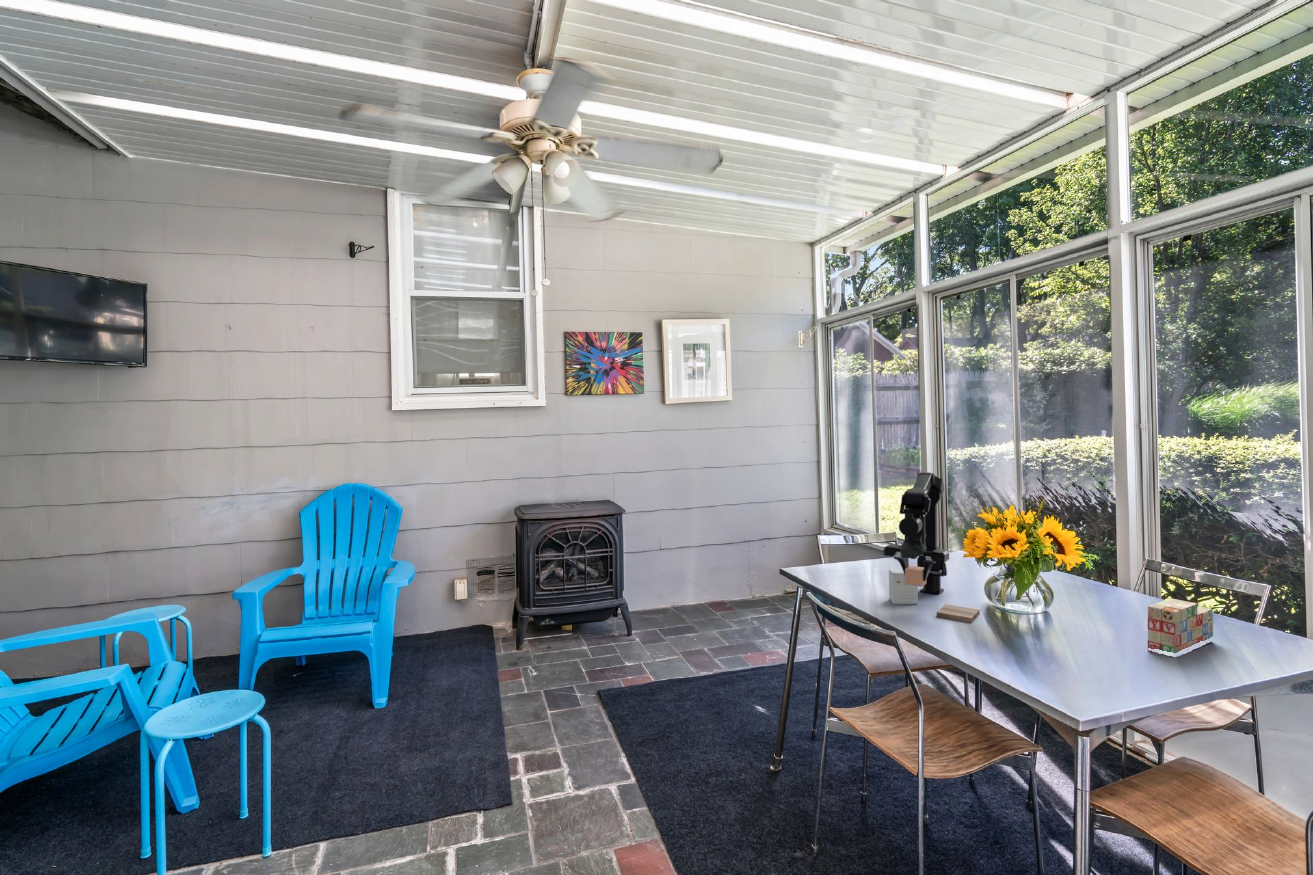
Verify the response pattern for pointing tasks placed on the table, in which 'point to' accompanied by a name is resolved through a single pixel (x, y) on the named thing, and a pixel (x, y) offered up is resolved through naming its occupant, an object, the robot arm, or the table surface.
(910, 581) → the terracotta cube
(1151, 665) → the table surface
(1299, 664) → the table surface
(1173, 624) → the stack of blocks
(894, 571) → the small box
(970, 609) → the walnut base
